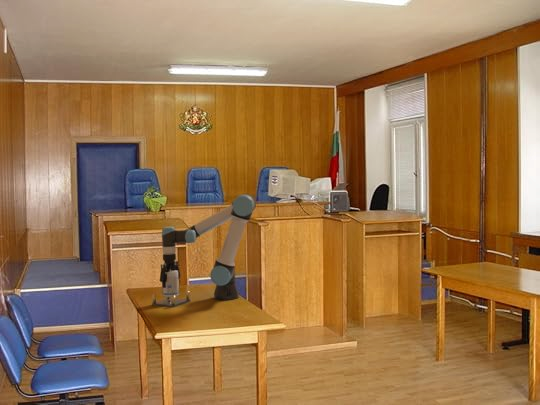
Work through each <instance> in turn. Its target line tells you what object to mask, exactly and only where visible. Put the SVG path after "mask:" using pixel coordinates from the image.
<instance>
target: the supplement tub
mask: <svg viewBox="0 0 540 405" xmlns="http://www.w3.org/2000/svg"><path fill="white" fill-rule="evenodd" d="M165 274H167V280H166V282H167V289H168V293H163V286H162V285H161V294H162V297H164V298H167V297H171V298H172V296H175V298H177V297H178V296H179V293H180V292H179V291H180V290H179V289H180V288H179V286H180V285H179V279H178V271H177V270H175V271H173V270H170V271H169V272H165ZM164 280H165V279H164Z"/></svg>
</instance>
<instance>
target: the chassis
mask: <svg viewBox="0 0 540 405" xmlns="http://www.w3.org/2000/svg"><path fill="white" fill-rule="evenodd" d="M185 293H186V294H185V297H186V298H177V297H175V296H172V297H165V298H164V299H161V300H157V296H156V293H154V294H151V296H152V300H151V301H152V303H151V305H152V306H154V305H155V306H156V307H167V308H176V307H178V306H181V305H186V304H188V303H191V297H190V296H191V295H190V293H191V292H190V290H186V292H185ZM155 306H154V307H155Z"/></svg>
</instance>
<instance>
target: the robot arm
mask: <svg viewBox="0 0 540 405" xmlns="http://www.w3.org/2000/svg"><path fill="white" fill-rule="evenodd" d="M256 202H257V201H256V199H255V197H254V196H252V195H251V194H248V193H244V194H240V195H238V196H237V197H235V199H234V200H233V202H231V204H230V205H228V206H227V207H225V208H223V209H221V210H219V211H218V212H215V213H214V214H212V215H210V216H209V217H207V218H205V219H202V220H201V221H198V222H197V223H195V224H194V225H191V226H190V227H188V228H186V229H183V230H182V229H180V230H179V229H178V230H177V229H176V228H175V227H174V226H164V227H162V229H161V242H162V243H161V245H162V260H163V261H164V263H162V264H160V274H159V282H160V283H161V287H162V286H163V293H168V289H167V282H166V280H167V274H165V272H169V271H170V270H173V271H175V270H177V271H178V280H180V279H181V273H180V268H179V261H178V260H176V259H177V253H176V251H177V250H176V249H177V248H176V244H194V243H195V242H196V240H197V238H199V237H201V236H202V235H204V234H207V233H208V232H210V231H212V230H214V229H216V228H218V227H220V226H221V225H224V224H225V223H227V222H229V221H230V223H229V226H228V230H227V233H226V235H225V239H224V242H223V245H222V247H221V251H220V255H219V256H218V257H217V258H216V259H215V261H214V265H213V267H212V268H211V270H210V273H209V274H210V275H209V277H210V280H211V281H212V283H213V284H214V285H216V286H215V289H214V293H213V299H214V300H217V301H218V300H219V301H229V300H230V301H231V300H236V299H238V298H239V297H240V293H239V290H238V288H237V284H236V263H235V259H236V255H237V253H238V249H239V246H240V243H241V241H242V237H243V235H244V234H243V233H244V232H245V231H244V230H245V227H246V225H247V223H249V222H250V221H251V218H252V216H253V212H254V210H255V209H256V206H257V203H256ZM164 279H165V280H164Z"/></svg>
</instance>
